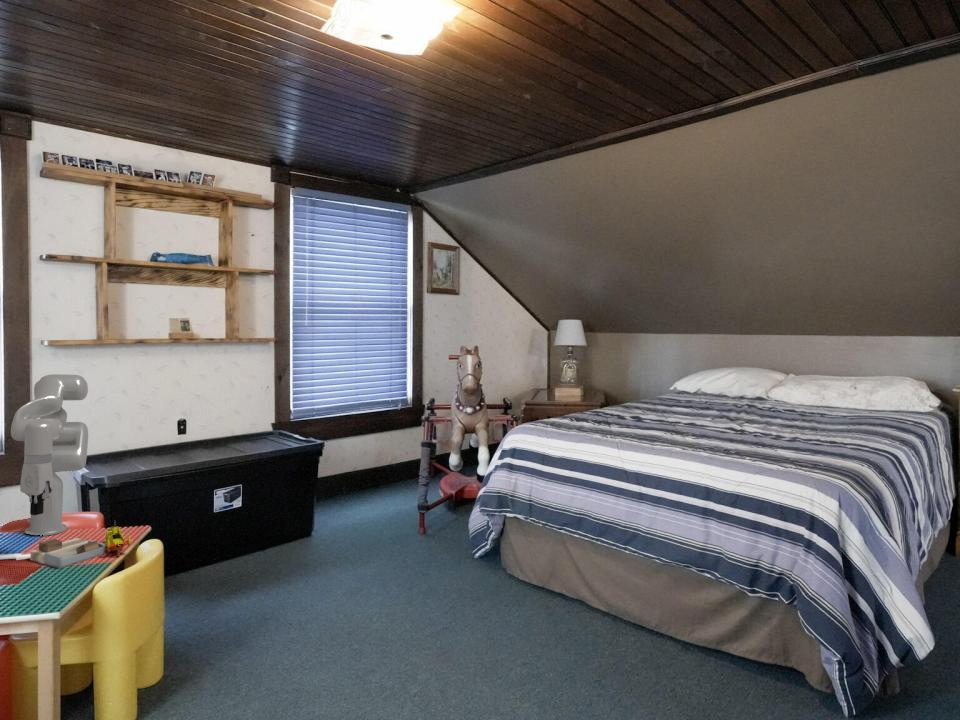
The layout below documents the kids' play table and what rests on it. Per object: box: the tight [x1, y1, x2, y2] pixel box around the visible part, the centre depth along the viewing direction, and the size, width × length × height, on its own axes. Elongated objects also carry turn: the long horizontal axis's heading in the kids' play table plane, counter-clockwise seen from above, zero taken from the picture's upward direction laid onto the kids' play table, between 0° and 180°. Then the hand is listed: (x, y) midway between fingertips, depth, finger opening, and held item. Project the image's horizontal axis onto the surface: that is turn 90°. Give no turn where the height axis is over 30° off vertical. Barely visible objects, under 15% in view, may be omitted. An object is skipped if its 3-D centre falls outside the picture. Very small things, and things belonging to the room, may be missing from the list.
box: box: [43, 539, 106, 570], centre depth 200 cm, size 8×15×4 cm, turn 157°
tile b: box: [38, 538, 63, 553], centre depth 199 cm, size 4×4×2 cm
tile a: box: [76, 540, 99, 554], centre depth 203 cm, size 4×4×2 cm
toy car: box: [104, 519, 131, 556], centre depth 210 cm, size 6×18×10 cm, turn 39°
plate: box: [30, 537, 89, 565], centre depth 202 cm, size 7×15×3 cm, turn 157°
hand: (36, 514), depth 201 cm, fingers closed
